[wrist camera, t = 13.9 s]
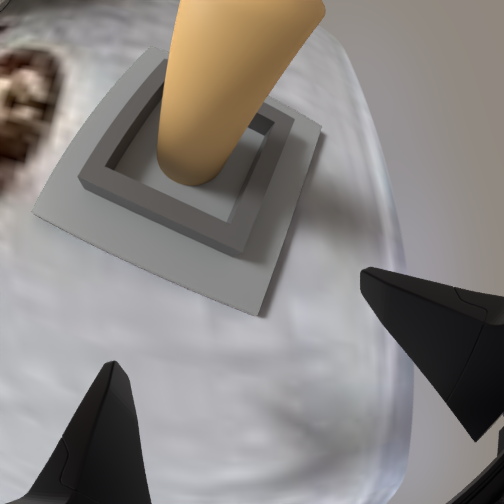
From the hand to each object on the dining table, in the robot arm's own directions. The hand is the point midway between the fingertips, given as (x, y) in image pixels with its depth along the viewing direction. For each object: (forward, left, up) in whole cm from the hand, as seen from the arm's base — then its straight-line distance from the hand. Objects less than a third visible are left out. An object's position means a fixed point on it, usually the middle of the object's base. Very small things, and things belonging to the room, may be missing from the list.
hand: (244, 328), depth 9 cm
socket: (+9, +5, -9) cm, 14 cm away
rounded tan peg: (+9, +5, -8) cm, 13 cm away
